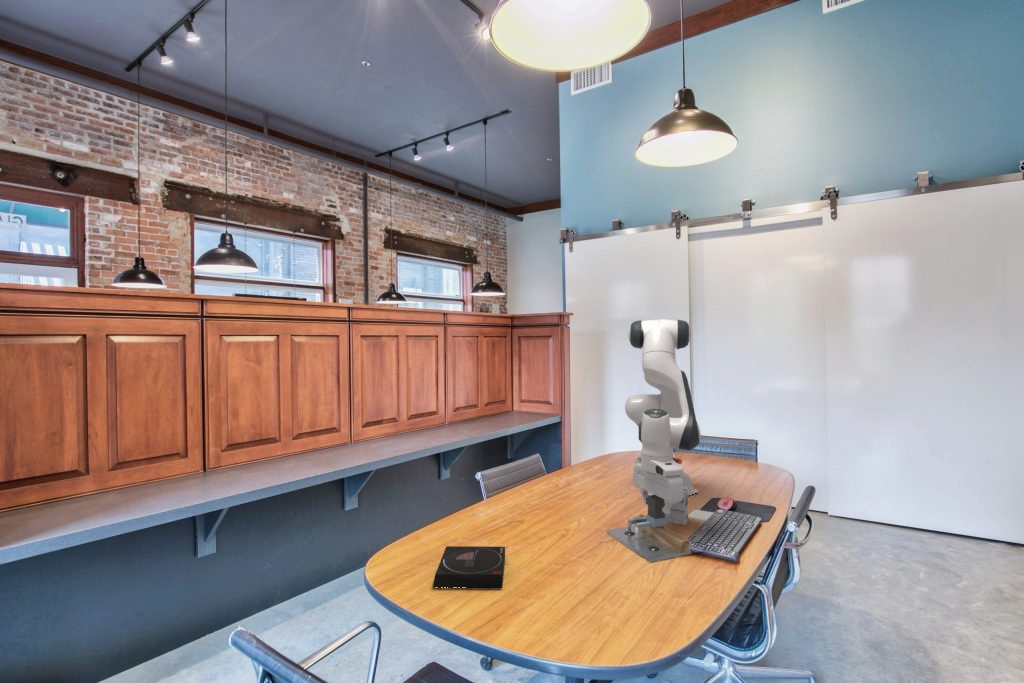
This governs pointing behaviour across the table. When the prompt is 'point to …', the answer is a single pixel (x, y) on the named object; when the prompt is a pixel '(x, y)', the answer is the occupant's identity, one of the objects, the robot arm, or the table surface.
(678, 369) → the robot arm
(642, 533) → the bolt plate
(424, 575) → the table surface
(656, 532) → the rail
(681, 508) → the light bulb box
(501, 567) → the portable cd player
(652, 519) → the sliding point
